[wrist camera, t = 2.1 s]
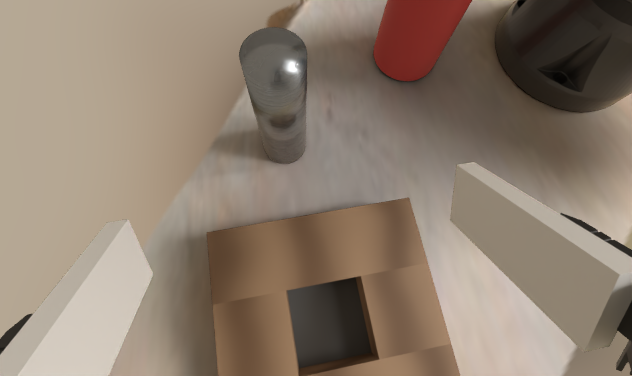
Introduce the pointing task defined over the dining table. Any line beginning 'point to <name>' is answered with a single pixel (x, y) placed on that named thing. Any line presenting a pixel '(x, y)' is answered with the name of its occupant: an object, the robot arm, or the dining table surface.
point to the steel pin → (277, 90)
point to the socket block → (328, 297)
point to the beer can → (415, 35)
